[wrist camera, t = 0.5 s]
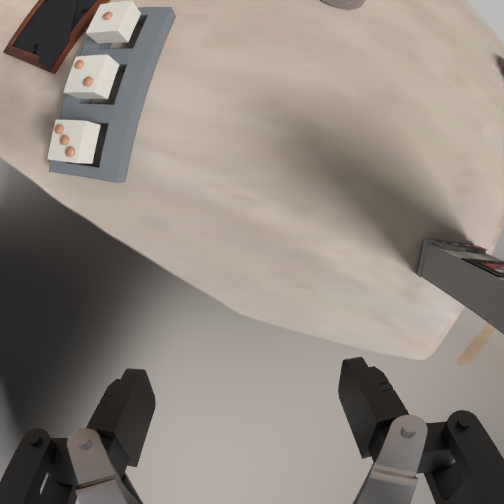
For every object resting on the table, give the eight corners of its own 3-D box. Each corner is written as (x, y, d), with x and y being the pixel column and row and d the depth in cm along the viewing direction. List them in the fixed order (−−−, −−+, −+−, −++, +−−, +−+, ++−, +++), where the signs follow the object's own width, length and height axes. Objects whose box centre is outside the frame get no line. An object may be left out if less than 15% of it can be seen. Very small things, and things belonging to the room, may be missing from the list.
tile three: (73, 123, 29) (53, 119, 24) (102, 125, 29) (84, 120, 24) (65, 159, 30) (45, 159, 25) (94, 163, 30) (75, 163, 26)
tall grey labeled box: (474, 243, 39) (577, 291, 15) (467, 275, 40) (562, 334, 16) (423, 237, 38) (546, 296, 14) (415, 274, 40) (524, 353, 16)
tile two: (91, 66, 26) (74, 55, 22) (120, 65, 27) (106, 53, 22) (80, 99, 28) (61, 91, 23) (109, 100, 28) (92, 91, 24)
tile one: (112, 17, 24) (99, 2, 20) (142, 15, 25) (131, -1, 20) (99, 44, 26) (84, 32, 21) (129, 43, 26) (116, 29, 22)
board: (107, 18, 27) (100, 11, 24) (175, 16, 28) (171, 7, 25) (60, 171, 34) (48, 171, 31) (125, 181, 35) (116, 182, 32)
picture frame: (56, 75, 30) (147, -34, 25) (50, 72, 28) (144, -40, 23) (8, 54, 26) (82, -40, 21) (2, 51, 24) (78, -44, 19)
